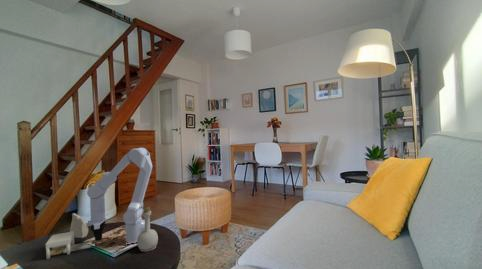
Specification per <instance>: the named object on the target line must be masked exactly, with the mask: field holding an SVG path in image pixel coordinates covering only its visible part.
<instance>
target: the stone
mask: <svg viewBox="0 0 482 269" xmlns="http://www.w3.org/2000/svg"><path fill="white" fill-rule="evenodd" d="M71 217H72V219H71V223H70V229H69V232H71V231H74V239H83V238H86V237H88V236H87V235H88V234H89V227H88V225H87V222H86V221H85V218H84V217H83V216H82V215H81V216H80V215H78V214H77V213H75V212H74V213H71Z"/></svg>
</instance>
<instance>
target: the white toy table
mask: <svg viewBox="0 0 482 269" xmlns="http://www.w3.org/2000/svg"><path fill="white" fill-rule="evenodd" d="M71 245H75V238H74V231H71V232H70V231H67V232H63V233H55V234H52V235H51V236H50V237H49V239H48V240H47V242H46V243H45V252H46V253H45V255H46V260H49V259H51V256H50V251H51V250H53V249H56V248H65V247H66V246H67V253H66V255H71V252H70V246H71Z"/></svg>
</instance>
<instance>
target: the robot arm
mask: <svg viewBox="0 0 482 269" xmlns="http://www.w3.org/2000/svg"><path fill="white" fill-rule="evenodd" d="M132 163H134V164H135V165H136V166H137V167H138V168H139V172H138V176H137V180H136V183H135V187H134V190H133V194H132V198H131V201H130V203H129V205H128V207H127V209H126V212H124V214H123V216H122V220H123V223H125V238H126V241H127V242H131V243H132V242H137V239H138V236H139V234H140V233H141V232H142V231H144V230H145V219H143V218H142V216H143V214H142V212H144V199H145V194H146V191H147V188H148V185H149V181H150V177H151V174H152V170H153V163H152V159H151V153H150V152H149V151H148V149H147V148H145V147H138V148H132V149H130V150H129V152H127V153H126V154H124V156H123V157H122V158H121V159H120V161H119V162H117V163H116V165H115V166H114V167H113V168H112V170H110V171H106V172H103V173H102V174H101V177H100V178H99V179H98V180H96V181H95V182H94V185H90V186H89V187H88V189H87V191H86V193H87V196H88V198H89V203H90V204H89V205H90V206H89V208H90V220H87V224H90V230H91V231H92V233H93V237H94V241H95V240H96V241H99V240H101V238H102V239H103V232H104V231H103V230H104V228H105V226H106V222H107V221H106V220H107V219H106V203H105V202H106V201H105V194H106V193H107V190H108V189H109V188H110V187H111V186H112V185H113V184H114V183H115V182H116V181H117V179H118V177H117V176H118V175H119V174H120V173H121V172H122V171H123V170H124V169H125V168H127V166H128V165H130V164H132Z"/></svg>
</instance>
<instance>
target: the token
mask: <svg viewBox="0 0 482 269" xmlns="http://www.w3.org/2000/svg"><path fill="white" fill-rule="evenodd" d="M64 249H65V247H63V248H56V249H53V250H52V249H50V257H51V256H52V257H53V256H57V255H60V254H63V251H64Z"/></svg>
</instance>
